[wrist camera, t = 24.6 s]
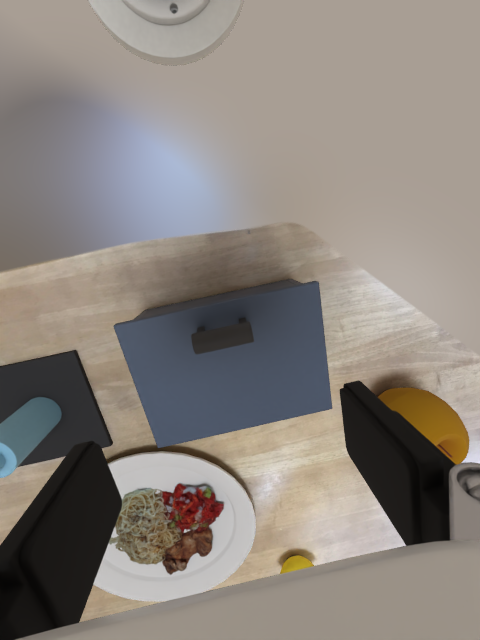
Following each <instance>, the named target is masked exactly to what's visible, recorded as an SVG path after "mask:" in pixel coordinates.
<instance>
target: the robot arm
mask: <svg viewBox="0 0 480 640" xmlns="http://www.w3.org/2000/svg"><path fill="white" fill-rule="evenodd" d="M122 1H123V2H124V4H125V5H126V6H127V7H128V8H130V9H131V10H132V11H133V12H134V13H135V14H137V15H139V16H140V17H142V18H144V19H145V20H147V21H150V22H153V23H156V24H162V25H175V24H181V23H183V22H186V21H188V20H191V19H192V18H193V17H195V16H196V15H198V14H199V13H200V12H201V11H202V10H203V9H204V8H205V7H206V6H207V4H208V3H209V1H210V0H122ZM174 13H175V14H174ZM340 398H341V406H342V415H343V424H344V433H345V441H346V448H347V451H348V454H349V456H350V458H351V459H352V461H353V462H354V464H355V465H356V467H357V469H358V470H359V472H360V473H361V475H362V476H363V478H364V480H365V481H366V483H367V484H368V486H369V487H370V489H371V491H372V492H373V494H374V495H375V497H376V498H377V500H378V502H379V503H380V505H381V506H382V508H383V509H384V511H385V513H386V514H387V516H388V517H389V519H390V520H391V522H392V524H393V525H394V527H395V528H396V530H397V532H398V533H399V535H400V536H401V538H402V539H403V541H404V543H405V544H406V546H403V547H399V548H394V549H389V550H384V551H380V552H375V553H370V554H365V555H361V556H356V557H351V558H347V559H343V560H338V561H334V562H330V563H325V564H321V565H317V566H312V567H308V568H304V569H300V570H295V571H291V572H287V573H282V574H278V575H274V576H270V577H265V578H261V579H257V580H253V581H249V582H244V583H240V584H236V585H232V586H228V587H223V588H219V589H215V590H211V591H207V592H203V593H198V594H194V595H190V596H186V597H182V598H178V599H174V600H169V601H165V602H161V603H157V604H153V605H149V606H145V607H141V608H137V609H133V610H129V611H125V612H121V613H116V614H112V615H108V616H104V617H100V618H96V619H92V620H88V621H84V622H80V623H79V621H80V618H81V616H82V613H83V610H84V608H85V605H86V602H87V600H88V597H89V594H90V592H91V589H92V586H93V584H94V581H95V578H96V576H97V573H98V570H99V568H100V565H101V562H102V560H103V557H104V554H105V552H106V549H107V546H108V544H109V541H110V538H111V535H112V533H113V530H114V527H115V525H116V522H117V519H118V517H119V514H120V511H121V508H122V498H121V495H120V493H119V490H118V488H117V486H116V483H115V481H114V478H113V476H112V473H111V471H110V468H109V466H108V464H107V461H106V459H105V456H104V454H103V451H102V449H101V446H100V445H99V444H96V443H95V442H94V441H88V442H83V443H79V444H76V445H74V446H73V448H72V449H71V450H70V452H69V453H68V454H67V456H66V457H65V458H64V460H63V461H62V462H61V464H60V465H59V467H58V468H57V469H56V471H55V472H54V473H53V475H52V476H51V477H50V479H49V480H48V481H47V483H46V484H45V486H44V487H43V488H42V490H41V491H40V492H39V494H38V495H37V496H36V498H35V499H34V500H33V502H32V503H31V505H30V506H29V507H28V509H27V510H26V511H25V513H24V514H23V515H22V517H21V518H20V519H19V521H18V522H17V524H16V525H15V526H14V528H13V529H12V530H11V532H10V533H9V534H8V536H7V537H6V538H5V540H4V541H3V543H2V544H1V545H0V640H480V464H478V463H472V462H470V463H460V464H457V465H456V464H455V463H454V462H453V461H452V460H450V459H449V458H448V457H447V456H446V455H445V454H444V453H443V452H442V451H440V450H439V449H438V448H437V447H436V446H435V445H434V444H433V443H432V442H431V441H429V440H428V439H427V438H426V437H425V436H424V435H423V434H422V433H421V432H419V431H418V430H417V429H416V428H415V427H414V426H413V425H412V424H411V423H410V422H408V421H407V420H406V419H405V418H404V417H403V416H402V415H401V414H400V413H398V412H397V411H394V410H391V409H390V408H389V407H388V406H387V405H386V404H384V403H383V402H382V401H381V400H380V399H379V398H378V397H377V396H376V395H375V394H374V393H373V392H371V391H370V390H369V389H368V388H367V387H366V386H365V385H364V384H363V383H362V382H360V381H355V382H351V383H346V384H344V388H342V389H340Z"/></svg>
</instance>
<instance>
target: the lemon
mask: <svg viewBox="0 0 480 640" xmlns="http://www.w3.org/2000/svg"><path fill="white" fill-rule="evenodd" d="M312 566H314V565H313V564H312V563H311V562H310V561H309V560H308V559H306V558H304V557H302V556H300V555H297V556H292V557H290V558H288V559H287V560H286V561H285V562H284V564H283V567H282V569H281V573H280V574H282V573H287V572H291V571H295V570H300V569H304V568H308V567H312Z"/></svg>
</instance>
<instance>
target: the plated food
mask: <svg viewBox="0 0 480 640" xmlns="http://www.w3.org/2000/svg"><path fill="white" fill-rule="evenodd" d="M108 466H109V468H110V471H111V473H112V476H113V478H114V481H115V483H116V486H117V488H118V490H119V493H120V495H121V498H122V508H121V511H120V514H119V517H118V519H117V522H116V525H115V527H114V530H113V533H112V535H111V538H110V541H109V544H108V546H107V549H106V552H105V554H104V557H103V560H102V562H101V565H100V568H99V570H98V573H97V576H96V578H95V581H94V584H93V585H95V586H97V587H99V588H101V589H103V590H105V591H107V592H108V593H111V594H114V595H117V596H120V597H124V598H128V599H134V600H140V601H159V602H161V601H169V600H174V599H178V598H182V597H186V596H190V595H194V594H198V593H202V592H204V591H207V590H209V589H211V588H213V587H215V586H216V585H218V584H220V583H221V582H223V581H225V580H226V579H227V578H228V577H229V576H230V575H232V574H233V573H234V572H235V571H236V570H237V569H238V568H239V566H240V565H241V564H242V563H243V562H244V560H245V559H246V557H247V555H248V553H249V551H250V549H251V547H252V545H253V541H254V537H255V533H256V518H255V513H254V509H253V505H252V502H251V500H250V498H249V496H248V494H247V493H246V491H245V489H244V488H243V487H242V486H241V484H240V483H239V482H238V481H237V480H236V479H235V478H234V477H233V476H232V475H231V474H229V473H228V472H226V471H225V470H224V469H222V468H221V467H220V466H218V465H215V464H213V463H211V462H209V461H207V460H205V459H203V458H199V457H195V456H192V455H188V454H184V453H176V452H165V451H159V452H145V453H138V454H134V455H130V456H126V457H122V458H119V459H117V460H115V461H112V462H110V463H108Z"/></svg>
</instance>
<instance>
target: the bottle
mask: <svg viewBox="0 0 480 640" xmlns="http://www.w3.org/2000/svg"><path fill="white" fill-rule="evenodd" d="M61 416H62V413H61V409H60V407H59V406H58V404H57V403H56V402H54V401H53V400H51V399H49V398H45V397H36V398H33V399H31V400H29V401H28V402H27V403H26V404H24V405H23V406H22V407H21V408H19V409H18V410H17V411H16V412H14V413H13V414H12V415H11V416H9V417H8V418H7V419H6V420H4V421H3V422H2V423H1V424H0V478H2V477H6V476H8V475H10V474H11V473H12V472H13V471H14V470H15V469H16V468H17V467H18V466H19V465H20V464H21V463H22V461H23V460H24V459H25V458H26V457H27V456H28V455H29V454H30V453H31V452H32V451H33V450H34V449H35V447H36V446H37V445H38V444H39V443H40V442H41V441H42V440H43V439H44V438H45V437H46V436H47V434H48V433H49V432H50V431H51V430H52V429H53V428H54V427H55V426H56V425H57V424H58V423H59V421H60V419H61Z"/></svg>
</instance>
